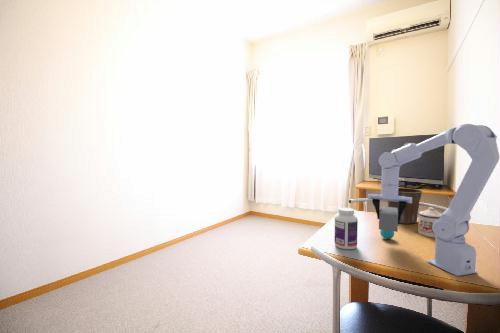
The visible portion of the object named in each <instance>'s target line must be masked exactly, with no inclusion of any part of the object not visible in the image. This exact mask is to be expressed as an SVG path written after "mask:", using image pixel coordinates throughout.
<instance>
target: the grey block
mask: <svg viewBox="0 0 500 333" xmlns="http://www.w3.org/2000/svg"><path fill="white" fill-rule="evenodd" d="M398 225H399V223H398V209H397V208H393V207H388V206H381V205H380V212H379V219H378V230H380V231H381V230H387V231H394V233H396V232H397V233H398V228H399V226H398Z"/></svg>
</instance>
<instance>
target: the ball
mask: <svg viewBox="0 0 500 333" xmlns="http://www.w3.org/2000/svg"><path fill="white" fill-rule="evenodd" d="M379 233H380V236H381V237H382V239H385V240H391V239H393V238H394V236H395V231H387V230H380V232H379Z"/></svg>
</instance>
